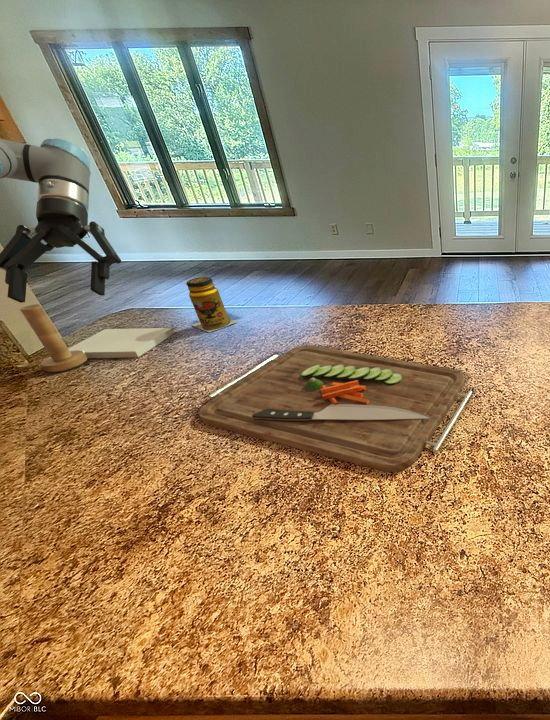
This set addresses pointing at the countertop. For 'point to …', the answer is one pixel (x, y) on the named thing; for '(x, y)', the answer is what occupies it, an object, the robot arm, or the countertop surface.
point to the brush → (52, 342)
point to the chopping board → (341, 405)
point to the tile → (122, 342)
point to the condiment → (208, 305)
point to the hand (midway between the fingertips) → (57, 296)
